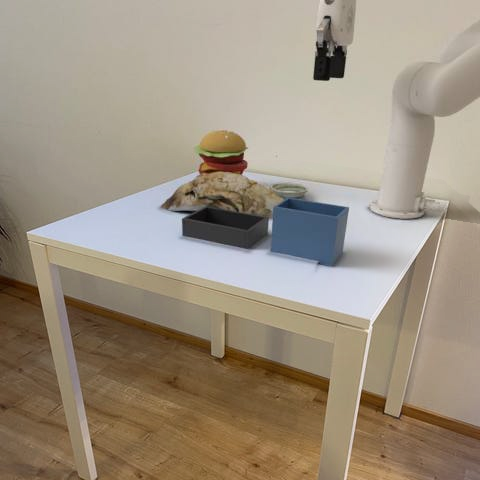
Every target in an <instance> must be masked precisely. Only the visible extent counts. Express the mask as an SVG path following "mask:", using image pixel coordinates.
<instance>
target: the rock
mask: <svg viewBox="0 0 480 480" xmlns="http://www.w3.org/2000/svg"><path fill="white" fill-rule="evenodd" d="M283 200H285V199H284V198H281V197H279V195H277V194H276V193H275V192H274V191H272V190H271V187H270V188H269V187H268V186H265V185H264V184H261V183H259V182H258V181H255V180H252V179H250V178H248V177H247V176H245V175H243V174H242V175H239V174H235V173H230V172H214V173H209V174H206V173H202V174H200V173H198V174H197V175H196V177H195V178H194V179H192V180H191V181H188V182H186V183H184V184H182V185H180V186H179V187H178V188H177V189H176V190H175V191H174V192H173V194H172V195H171V196H170V197H169V198H167V199H166V200H165V202H163V203H162V204H161V205H160V208H161V209H164V210H166V211H169V212H181V211H185V212H187V211H189V212H196V211H198V210H200V209H201V208H203V207H205V206H208V207H214V208H219V209H225V210H231V211H236V212H242V213H247V214H253V215H259V216H264V217H269V219H273V207H274V206H276V205H277V204H279V203H280V202H282V201H283Z"/></svg>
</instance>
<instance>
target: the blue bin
mask: <svg viewBox="0 0 480 480" xmlns="http://www.w3.org/2000/svg"><path fill="white" fill-rule="evenodd" d="M349 212H350V207H349V206H344V205H339V204H331V203H326V202H319V201H313V200H307V199H300V198H296V199H294V198H286V199H284V200H283V201H282V202H280V203H279V204H277V205H276V206H274V207H273V218H272V224H271V237H270V238H271V240H270V252H272V253H276V254H281V255H286V256H289V257H290V256H291V257H295V258H299V259H303V260H304V259H305V260H310V261H315V262H317V264H319V265H323V266H328V267H333V266H334V265H335V263H336V262H337V261H338V259H340V257H341V256H342V255H343V253H344V246H345V245H344V244H345V239H346V232H347V227H348V226H347V225H348V219H349V218H348V217H349Z"/></svg>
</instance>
